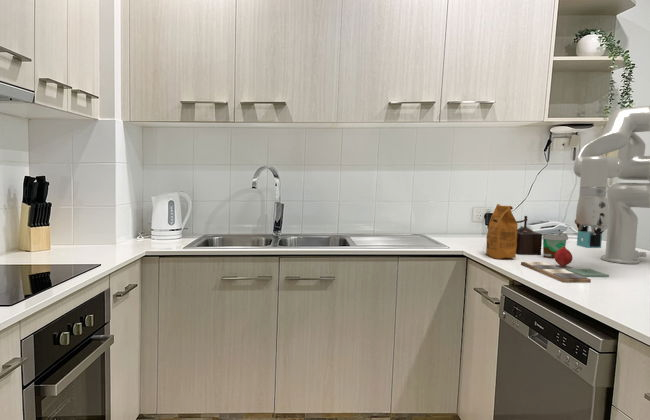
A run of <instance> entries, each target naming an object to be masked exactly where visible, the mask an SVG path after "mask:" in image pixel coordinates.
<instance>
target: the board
mask: <svg viewBox="0 0 650 420" xmlns="http://www.w3.org/2000/svg"><path fill="white" fill-rule="evenodd" d="M520 265H521V266H523V267H526V268H529V269H531V270H533V271H535V272H537V273H540V274H542V275H545V276H547V277H550V278H552V279H555V280H557V281H558V282H562V283H591V282H592V279H591V278H590V277H584V276H581V275H578V274H575V273H573V272H570V271H567V270H566V269H565V268H564V269H563V267H559V266H556V265H553V264H550V263H548V262H545V261H521V262H520Z"/></svg>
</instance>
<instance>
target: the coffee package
mask: <svg viewBox="0 0 650 420" xmlns="http://www.w3.org/2000/svg"><path fill="white" fill-rule="evenodd" d="M513 209H514V208H513V206H512V205H501V204H500V203H498V204H496V207H495V208H494V210H493V212H492V215H491V217H490V219H489V224H488V227H487V233H486V247H485V248H486V249H485V250H486V251H485V252H486V253H485V254H486V255H487V256H489V257H490V258H492V259H496V260H501V259H515V258H516V255H517V254H516V247H517V241H516V240H517V229H518V226H519V225H518V224H519V223H517V222H516V221H517V220H516V218H515V216H514V214H513V212H512V210H513Z"/></svg>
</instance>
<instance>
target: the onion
mask: <svg viewBox="0 0 650 420" xmlns="http://www.w3.org/2000/svg"><path fill="white" fill-rule="evenodd" d="M566 247H567V246H563V247H562V248H561V249H559V250H558V251H557V252H556V253H555V255H554V261H555V262H556V263H557V264H558V265H559V266H560V268H564V267H566V266H567V265H569V264H570V263H572V261H573V255H572V254H573V253H571V251H570V250H569V249H567V248H566Z"/></svg>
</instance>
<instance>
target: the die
mask: <svg viewBox="0 0 650 420" xmlns="http://www.w3.org/2000/svg"><path fill="white" fill-rule="evenodd" d="M591 235H592V230H591V231H589V230H588V231H578V230H577V236H576V237H577V240H576V246H578V247H582V248H585V249H601V248H602V242H603V241H602V240H603V234H602V235H601V239H600V247H591V246H590V236H591Z"/></svg>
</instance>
